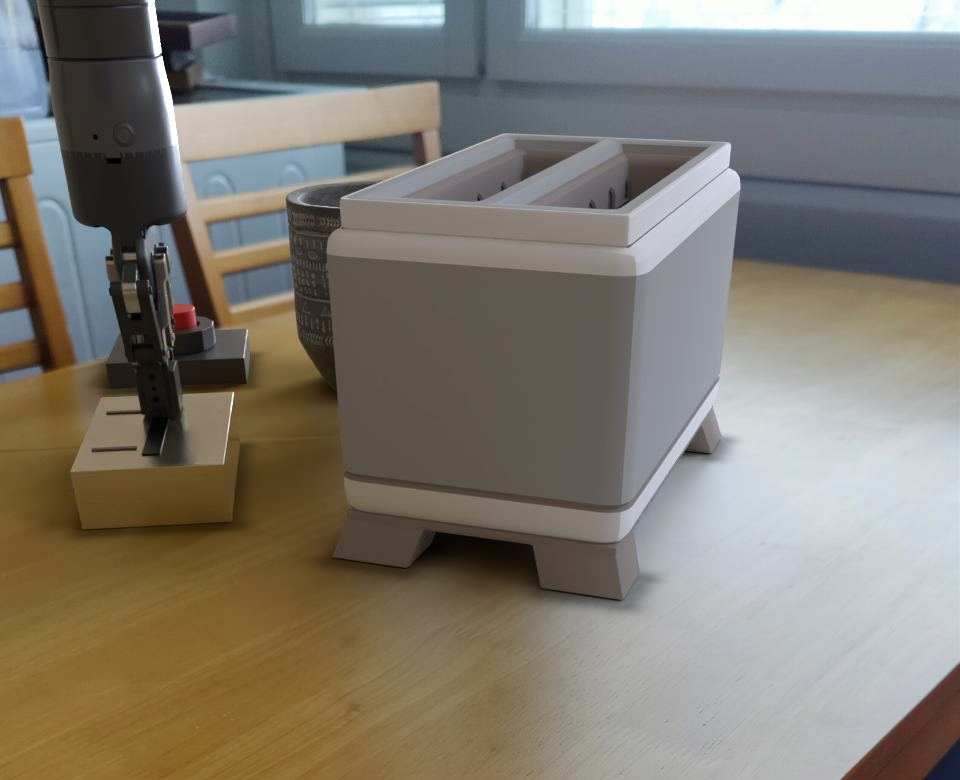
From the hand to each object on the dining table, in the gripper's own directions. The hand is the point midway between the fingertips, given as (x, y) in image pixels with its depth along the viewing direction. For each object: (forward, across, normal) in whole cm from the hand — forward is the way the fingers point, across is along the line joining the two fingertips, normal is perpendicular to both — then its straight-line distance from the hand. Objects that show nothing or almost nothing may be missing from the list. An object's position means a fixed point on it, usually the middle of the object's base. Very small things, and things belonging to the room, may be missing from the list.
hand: (162, 407), depth 89 cm
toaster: (+4, +8, +28) cm, 29 cm away
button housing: (+4, -25, -1) cm, 25 cm away
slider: (0, 0, 0) cm, 0 cm away
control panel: (+4, +4, 0) cm, 6 cm away
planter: (+4, -19, +17) cm, 26 cm away
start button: (+1, -25, -1) cm, 25 cm away
